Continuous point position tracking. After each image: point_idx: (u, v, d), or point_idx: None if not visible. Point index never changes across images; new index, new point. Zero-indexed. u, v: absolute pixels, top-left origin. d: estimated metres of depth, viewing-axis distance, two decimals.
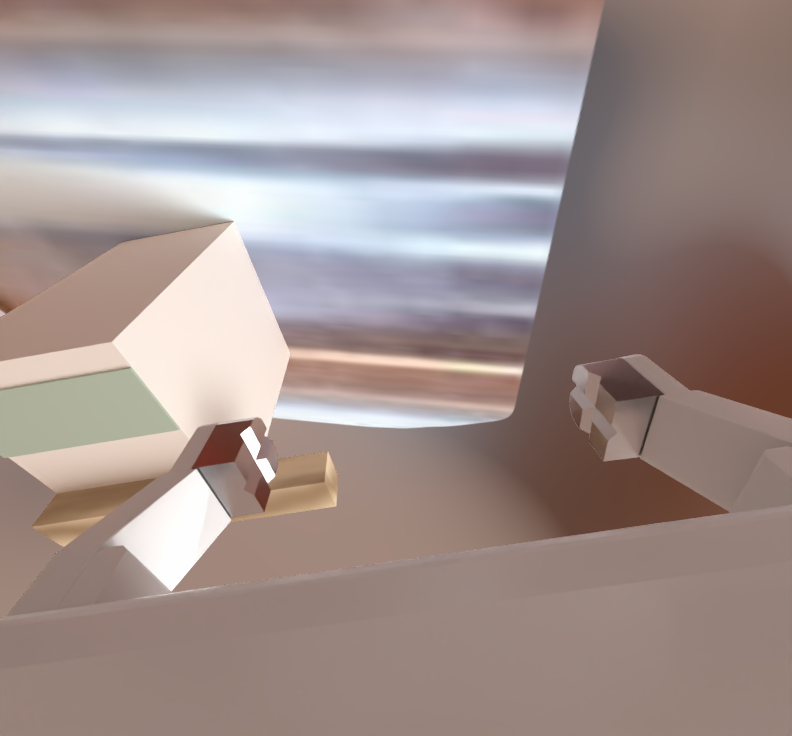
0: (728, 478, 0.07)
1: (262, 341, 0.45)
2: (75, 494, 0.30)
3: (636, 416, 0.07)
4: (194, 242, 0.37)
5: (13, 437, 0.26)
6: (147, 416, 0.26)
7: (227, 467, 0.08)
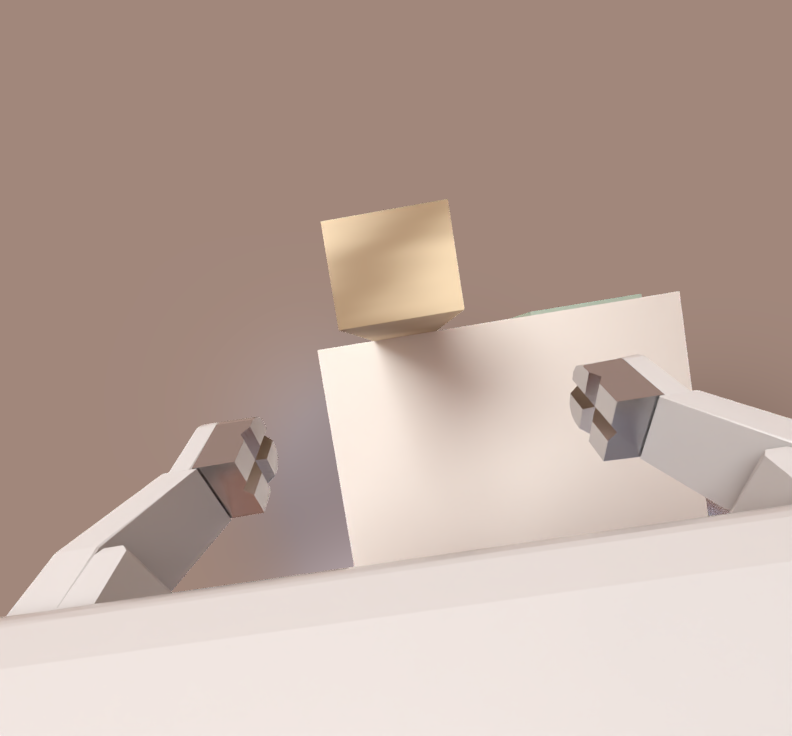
0: (728, 478, 0.07)
1: None
2: None
3: (636, 416, 0.07)
4: None
5: None
6: None
7: (227, 467, 0.08)
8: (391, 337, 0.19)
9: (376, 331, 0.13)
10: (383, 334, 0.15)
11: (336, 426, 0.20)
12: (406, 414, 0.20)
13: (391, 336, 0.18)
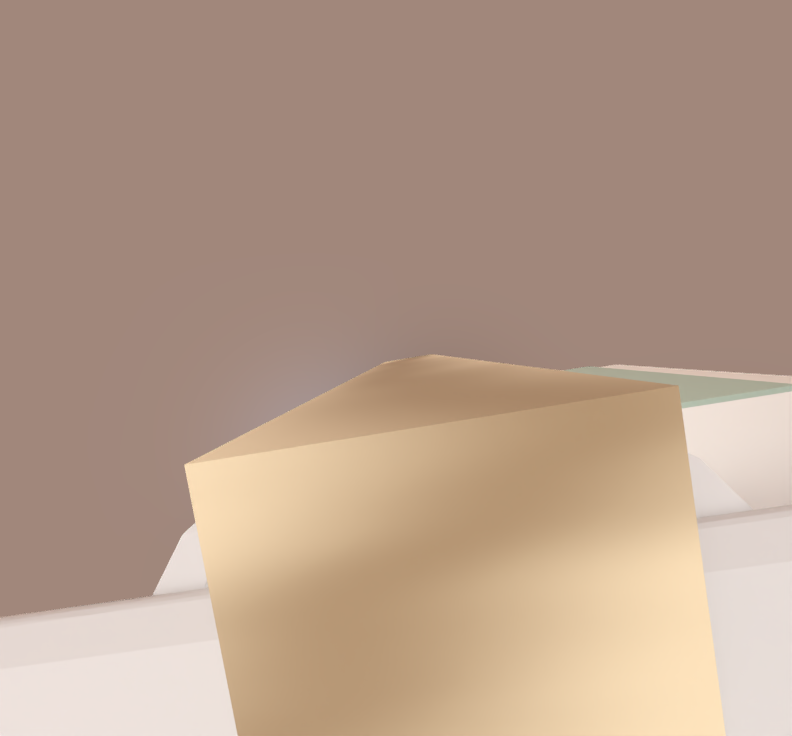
0: None
1: None
2: None
3: None
4: None
5: None
6: None
7: None
8: None
9: None
10: None
11: None
12: None
13: None
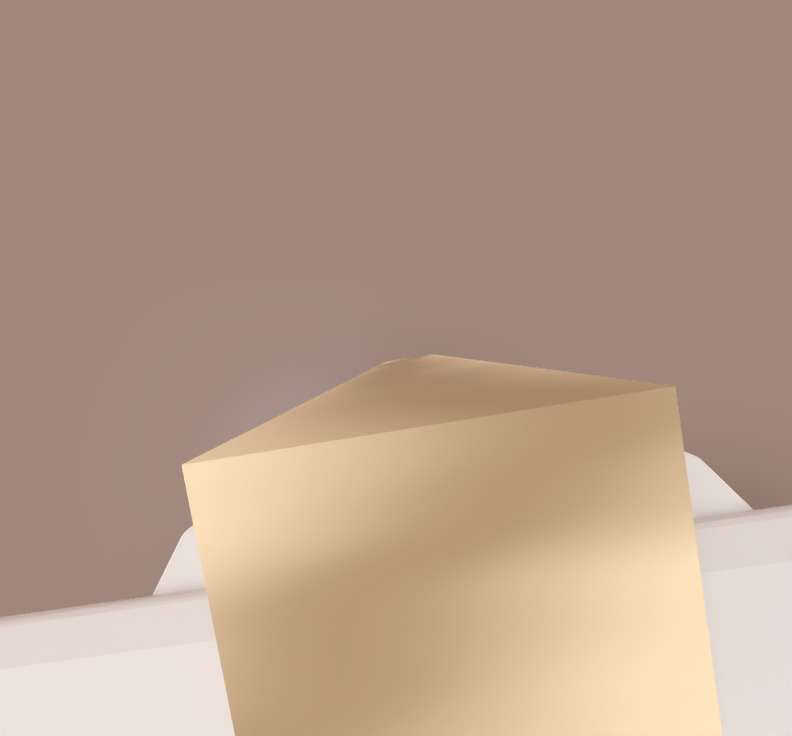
0: None
1: None
2: None
3: None
4: None
5: None
6: None
7: None
8: None
9: None
10: None
11: None
12: None
13: None
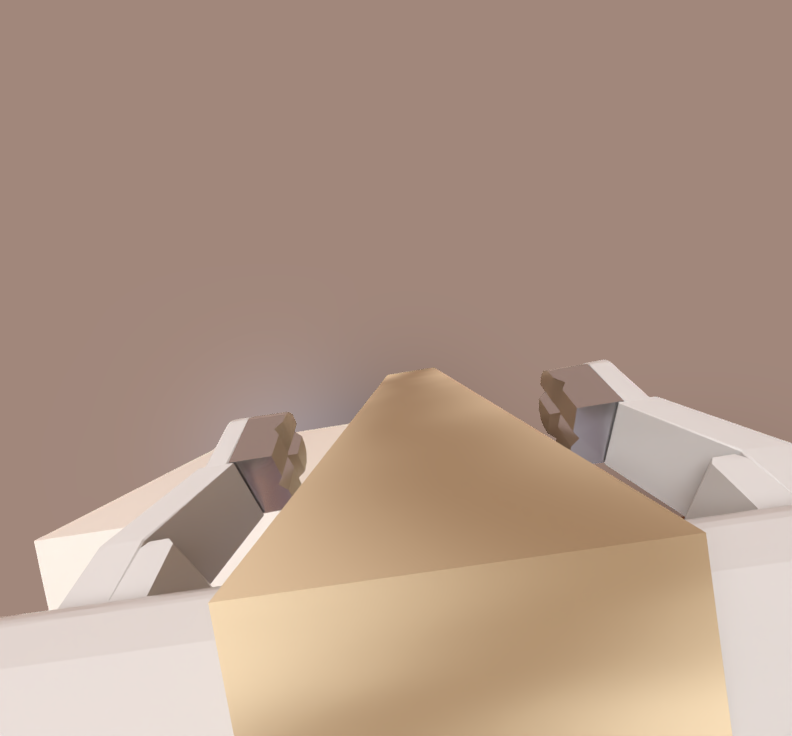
0: (684, 484, 0.07)
1: None
2: None
3: (597, 422, 0.07)
4: None
5: None
6: None
7: (263, 461, 0.07)
8: None
9: None
10: None
11: None
12: None
13: None
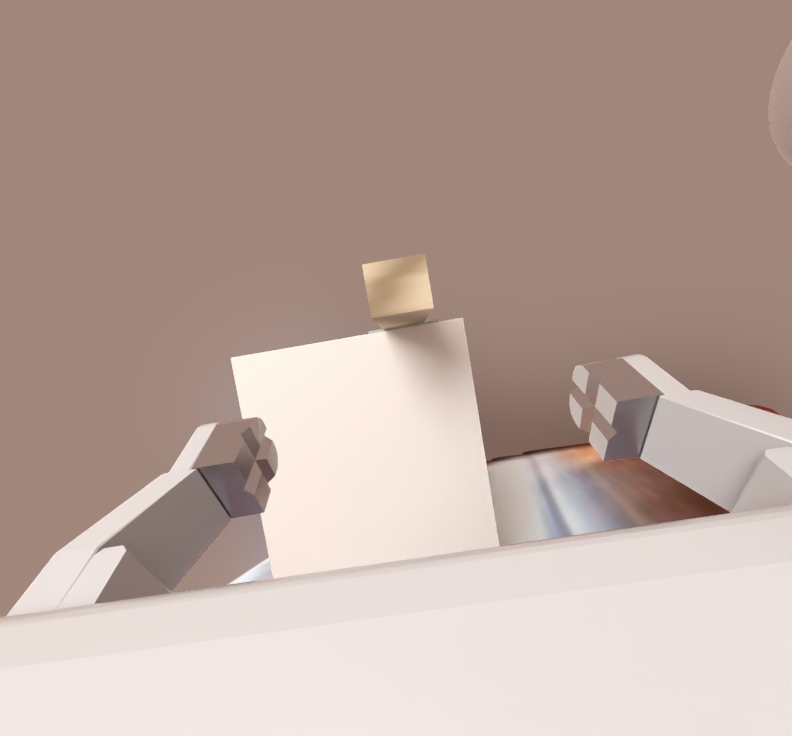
0: (728, 478, 0.07)
1: (351, 558, 0.31)
2: None
3: (636, 416, 0.07)
4: None
5: None
6: None
7: (227, 467, 0.08)
8: (394, 326, 0.29)
9: (387, 320, 0.22)
10: (390, 323, 0.25)
11: (244, 408, 0.30)
12: (290, 399, 0.30)
13: (394, 325, 0.28)
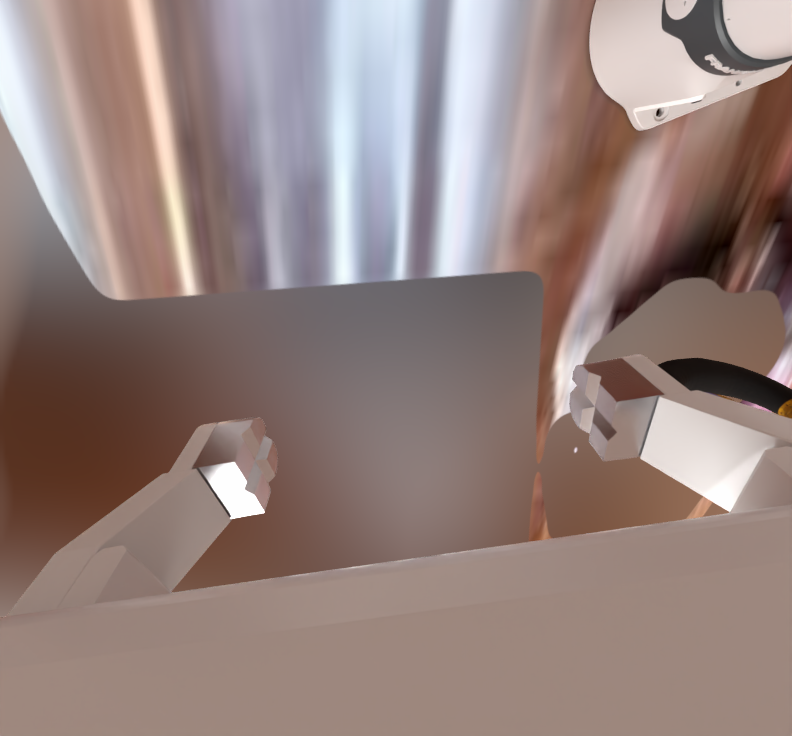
0: (728, 478, 0.07)
1: None
2: None
3: (636, 416, 0.07)
4: None
5: None
6: None
7: (227, 467, 0.08)
8: None
9: None
10: None
11: None
12: None
13: None
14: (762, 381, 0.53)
